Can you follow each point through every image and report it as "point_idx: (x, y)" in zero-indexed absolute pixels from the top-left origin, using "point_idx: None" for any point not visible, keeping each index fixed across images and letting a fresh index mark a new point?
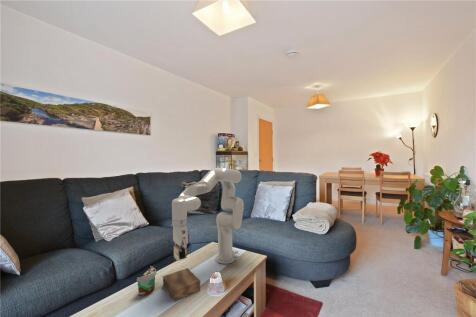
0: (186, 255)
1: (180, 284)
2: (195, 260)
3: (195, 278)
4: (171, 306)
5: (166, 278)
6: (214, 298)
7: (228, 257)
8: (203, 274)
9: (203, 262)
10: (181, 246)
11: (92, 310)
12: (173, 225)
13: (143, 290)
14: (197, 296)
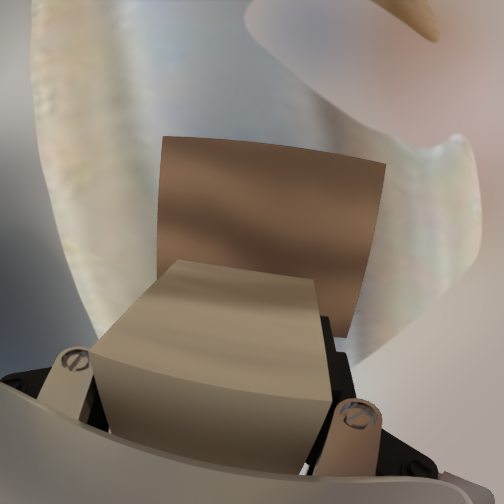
0: (315, 297)
1: (320, 280)
2: (77, 38)
3: (337, 169)
4: (357, 329)
5: None
6: (462, 161)
7: None
8: (234, 53)
9: (123, 7)
10: (219, 442)
11: None
12: None
13: None
14: (396, 207)
